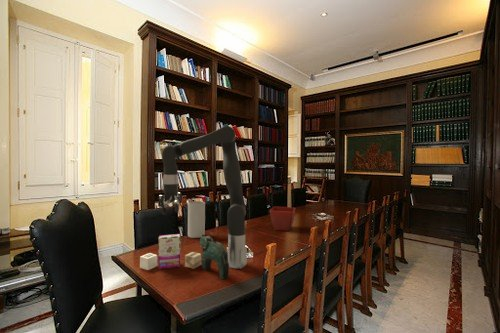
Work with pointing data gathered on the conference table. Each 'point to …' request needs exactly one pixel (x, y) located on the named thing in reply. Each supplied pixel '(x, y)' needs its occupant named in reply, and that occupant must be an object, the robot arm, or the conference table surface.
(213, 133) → the robot arm
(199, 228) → the cylinder vase
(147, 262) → the white block two
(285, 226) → the plant pot
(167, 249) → the candy bar box
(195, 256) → the maple block one
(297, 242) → the conference table surface
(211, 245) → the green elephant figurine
